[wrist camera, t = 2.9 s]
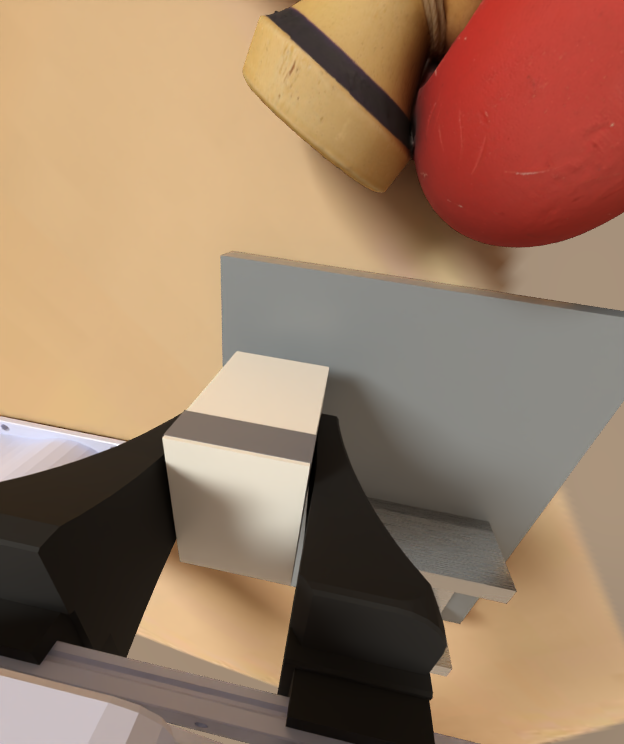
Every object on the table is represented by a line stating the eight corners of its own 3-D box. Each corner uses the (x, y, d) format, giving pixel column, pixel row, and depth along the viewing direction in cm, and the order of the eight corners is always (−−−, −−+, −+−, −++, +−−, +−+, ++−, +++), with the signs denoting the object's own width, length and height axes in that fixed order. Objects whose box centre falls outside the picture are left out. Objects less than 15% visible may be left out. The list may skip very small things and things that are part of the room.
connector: (235, 451, 14) (179, 561, 10) (236, 350, 12) (161, 437, 7) (312, 466, 14) (290, 586, 9) (330, 366, 11) (310, 466, 7)
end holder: (313, 582, 21) (305, 643, 18) (334, 490, 16) (328, 551, 14) (434, 609, 20) (446, 676, 17) (488, 521, 16) (516, 591, 13)
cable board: (233, 554, 23) (226, 571, 22) (232, 251, 13) (220, 255, 12) (455, 603, 22) (460, 623, 21) (650, 314, 12) (678, 325, 10)
